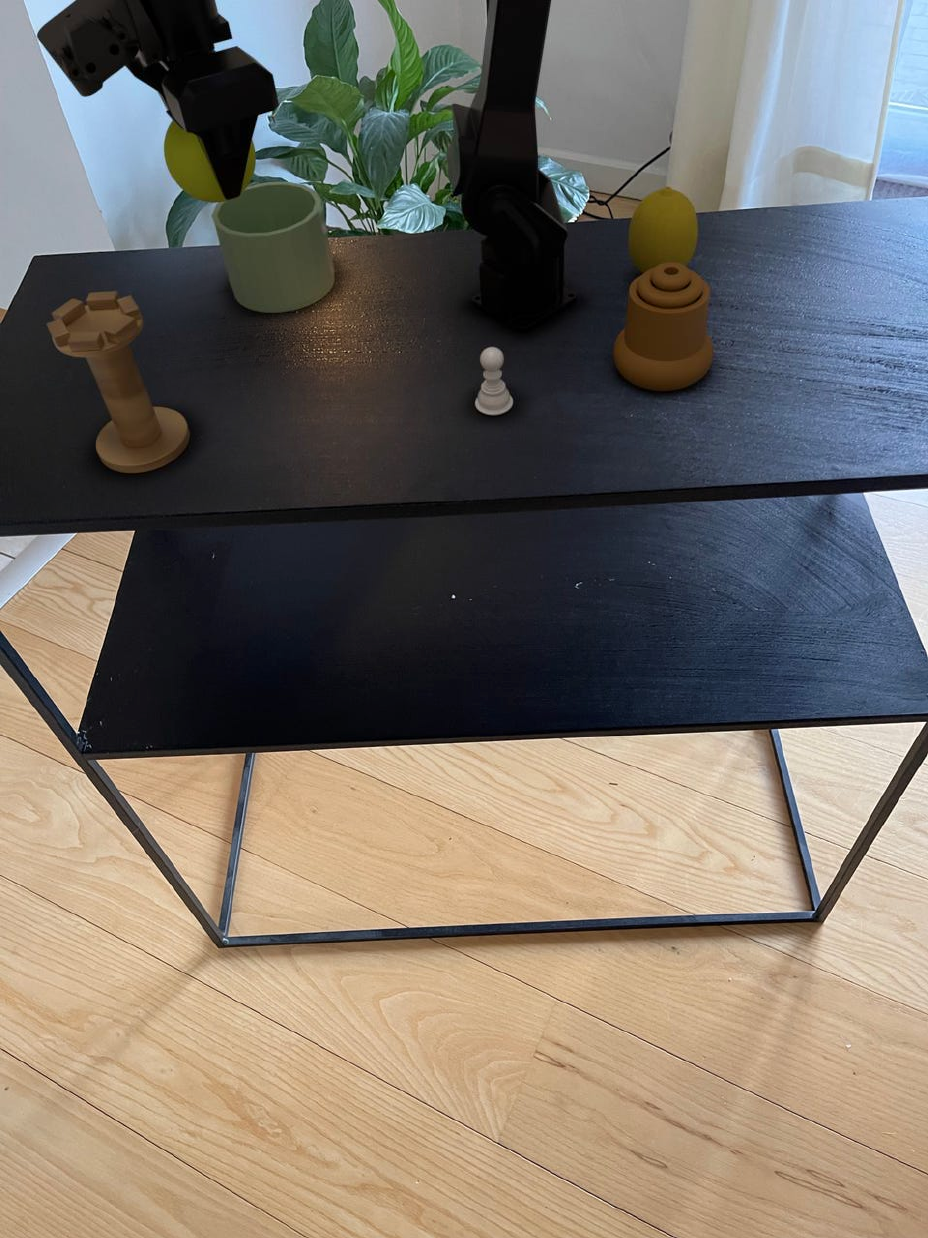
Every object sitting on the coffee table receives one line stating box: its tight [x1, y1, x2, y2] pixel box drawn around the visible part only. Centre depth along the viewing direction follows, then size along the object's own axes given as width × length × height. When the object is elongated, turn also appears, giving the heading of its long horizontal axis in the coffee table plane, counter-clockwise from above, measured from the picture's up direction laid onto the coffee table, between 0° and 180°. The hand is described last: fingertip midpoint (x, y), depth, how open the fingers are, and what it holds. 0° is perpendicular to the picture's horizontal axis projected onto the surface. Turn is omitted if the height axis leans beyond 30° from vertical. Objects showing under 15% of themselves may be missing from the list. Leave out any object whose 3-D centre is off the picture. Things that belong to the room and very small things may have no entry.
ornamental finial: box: [612, 262, 715, 392], centre depth 72 cm, size 8×8×8 cm
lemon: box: [627, 186, 699, 274], centre depth 80 cm, size 6×6×8 cm
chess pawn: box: [474, 346, 514, 416], centre depth 71 cm, size 3×3×5 cm
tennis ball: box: [163, 120, 257, 204], centre depth 70 cm, size 6×6×6 cm
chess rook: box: [46, 290, 191, 474], centre depth 69 cm, size 7×7×11 cm
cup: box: [211, 181, 335, 314], centre depth 84 cm, size 9×9×7 cm
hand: (217, 180), depth 72 cm, fingers closed on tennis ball, 6 cm apart
